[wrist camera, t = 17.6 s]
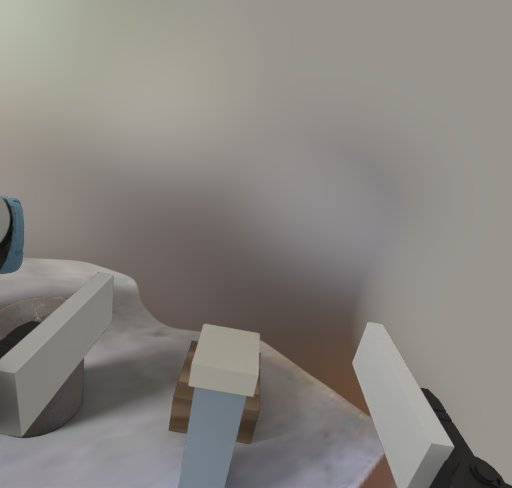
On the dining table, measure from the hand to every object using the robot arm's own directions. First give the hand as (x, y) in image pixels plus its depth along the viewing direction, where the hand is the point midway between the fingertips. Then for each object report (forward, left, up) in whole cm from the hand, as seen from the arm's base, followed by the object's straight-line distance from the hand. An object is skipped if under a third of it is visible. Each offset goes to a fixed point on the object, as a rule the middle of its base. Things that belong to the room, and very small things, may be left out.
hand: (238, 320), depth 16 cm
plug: (+5, +8, -30) cm, 31 cm away
